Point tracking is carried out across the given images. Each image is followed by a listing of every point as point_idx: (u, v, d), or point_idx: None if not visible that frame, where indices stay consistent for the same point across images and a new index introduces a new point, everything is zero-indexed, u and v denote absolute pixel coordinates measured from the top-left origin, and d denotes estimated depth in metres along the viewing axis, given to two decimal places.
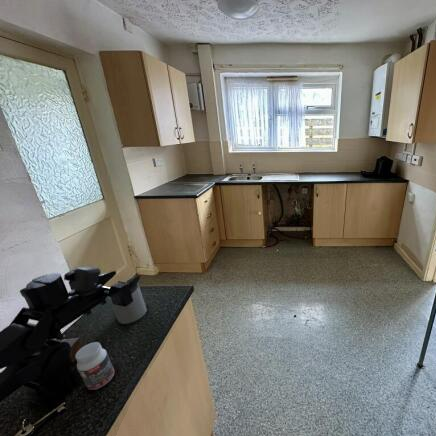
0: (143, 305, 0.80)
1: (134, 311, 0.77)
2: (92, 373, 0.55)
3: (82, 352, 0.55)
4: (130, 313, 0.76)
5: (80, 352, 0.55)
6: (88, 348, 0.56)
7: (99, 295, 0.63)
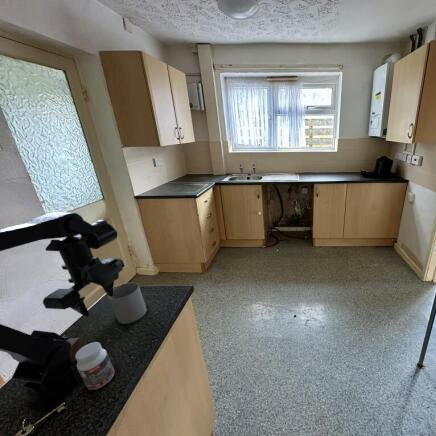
0: (143, 305, 0.80)
1: (134, 311, 0.77)
2: (92, 373, 0.55)
3: (82, 352, 0.55)
4: (130, 313, 0.76)
5: (80, 352, 0.55)
6: (88, 348, 0.56)
7: (77, 279, 0.61)
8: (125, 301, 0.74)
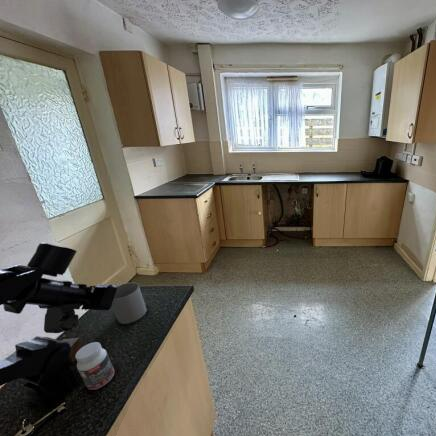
0: (143, 305, 0.80)
1: (134, 311, 0.77)
2: (92, 373, 0.55)
3: (82, 352, 0.55)
4: (130, 313, 0.76)
5: (80, 352, 0.55)
6: (88, 348, 0.56)
7: None
8: (125, 301, 0.74)
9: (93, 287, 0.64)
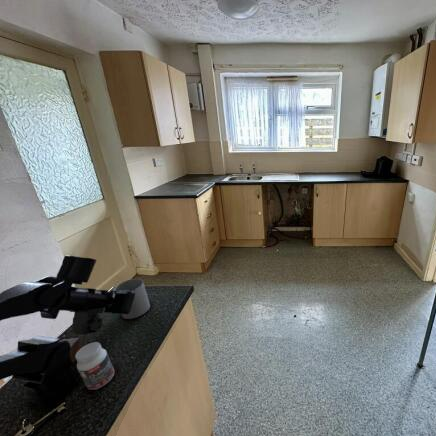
0: (147, 301, 0.82)
1: (137, 307, 0.78)
2: (92, 373, 0.55)
3: (82, 352, 0.55)
4: (134, 309, 0.78)
5: (80, 352, 0.55)
6: (88, 348, 0.56)
7: None
8: None
9: (113, 292, 0.70)
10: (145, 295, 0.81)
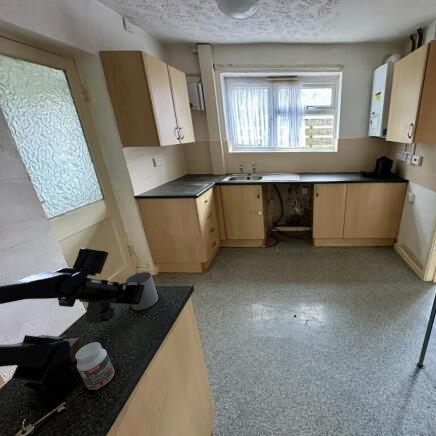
0: (154, 294, 0.85)
1: (145, 299, 0.82)
2: (92, 373, 0.55)
3: (82, 352, 0.55)
4: (142, 301, 0.82)
5: (80, 352, 0.55)
6: (88, 348, 0.56)
7: None
8: None
9: (123, 284, 0.74)
10: (153, 288, 0.84)
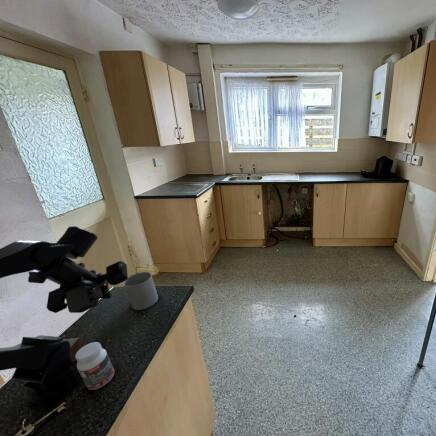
0: (154, 294, 0.85)
1: (145, 299, 0.82)
2: (92, 373, 0.55)
3: (82, 352, 0.55)
4: (142, 301, 0.82)
5: (80, 352, 0.55)
6: (88, 348, 0.56)
7: None
8: (137, 289, 0.80)
9: None
10: (153, 288, 0.84)
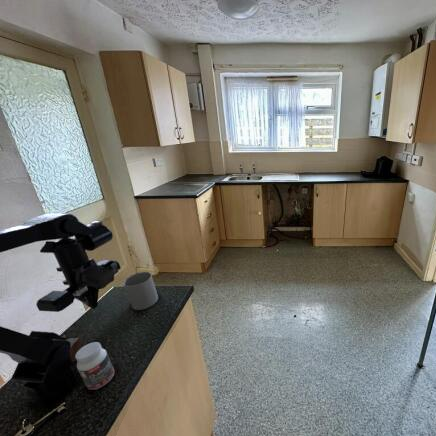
0: (154, 294, 0.85)
1: (145, 299, 0.82)
2: (92, 373, 0.55)
3: (82, 352, 0.55)
4: (142, 301, 0.82)
5: (80, 352, 0.55)
6: (88, 348, 0.56)
7: (72, 281, 0.60)
8: (137, 289, 0.80)
9: None
10: (153, 288, 0.84)
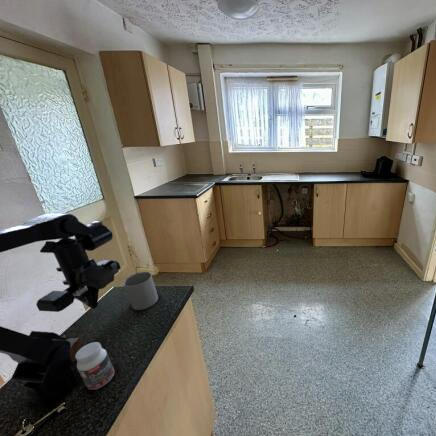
0: (154, 294, 0.85)
1: (145, 299, 0.82)
2: (92, 373, 0.55)
3: (82, 352, 0.55)
4: (142, 301, 0.82)
5: (80, 352, 0.55)
6: (88, 348, 0.56)
7: (72, 281, 0.60)
8: (137, 289, 0.80)
9: None
10: (153, 288, 0.84)
